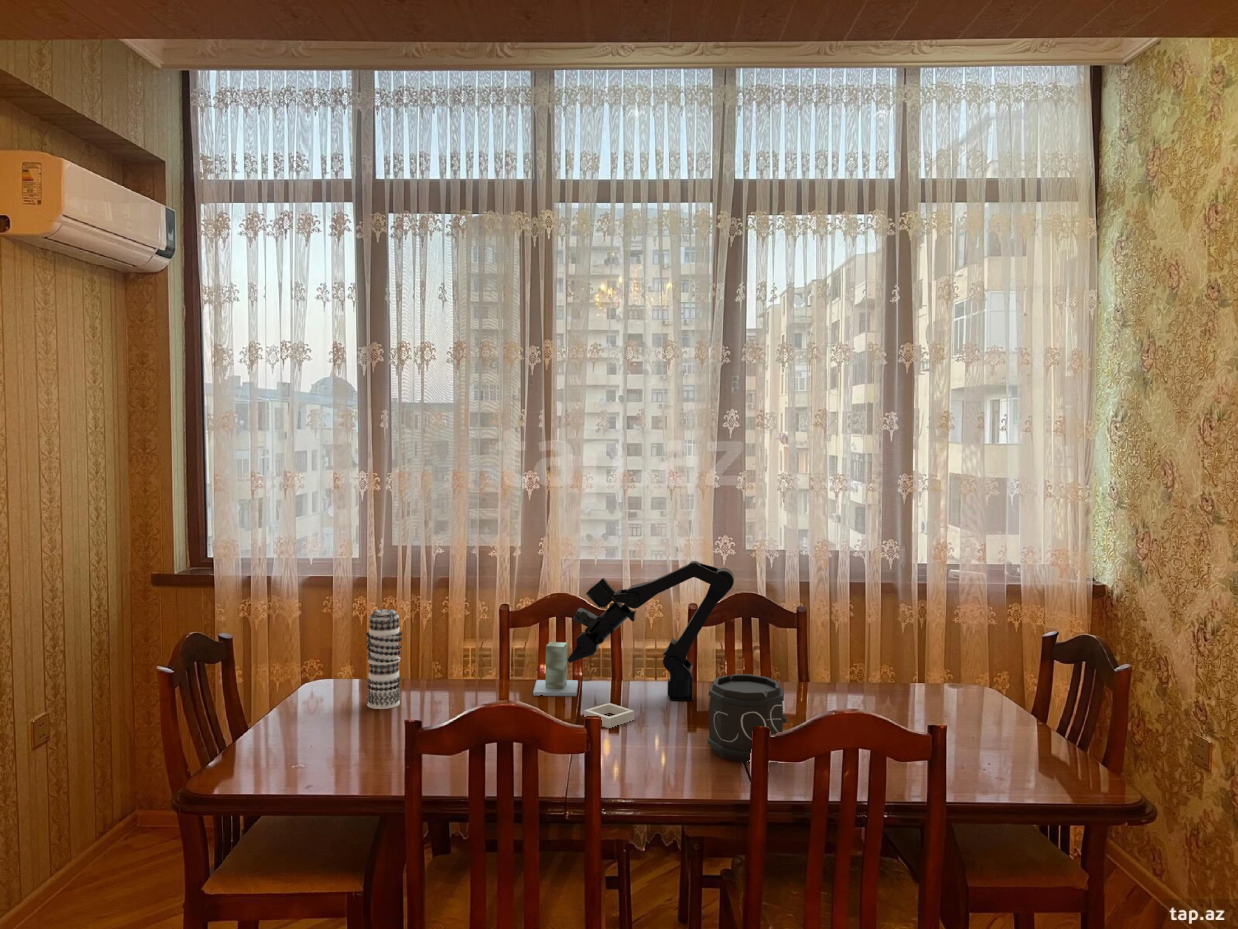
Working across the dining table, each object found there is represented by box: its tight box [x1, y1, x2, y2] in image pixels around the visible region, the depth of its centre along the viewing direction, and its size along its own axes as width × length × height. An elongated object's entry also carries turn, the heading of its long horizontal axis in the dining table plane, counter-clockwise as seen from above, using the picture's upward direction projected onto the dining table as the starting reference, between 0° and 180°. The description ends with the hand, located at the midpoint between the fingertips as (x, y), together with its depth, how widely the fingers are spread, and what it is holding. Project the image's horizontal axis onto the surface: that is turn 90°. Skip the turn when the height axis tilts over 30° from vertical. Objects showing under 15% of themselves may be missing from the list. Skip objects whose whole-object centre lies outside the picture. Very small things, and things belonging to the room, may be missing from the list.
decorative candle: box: [365, 608, 403, 710], centre depth 231 cm, size 9×9×25 cm
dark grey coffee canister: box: [707, 673, 788, 763], centre depth 201 cm, size 18×18×16 cm
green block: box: [545, 641, 568, 689], centre depth 247 cm, size 5×5×12 cm
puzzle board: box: [583, 702, 635, 729], centre depth 221 cm, size 9×9×2 cm
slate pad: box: [532, 679, 579, 697], centre depth 247 cm, size 12×12×1 cm
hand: (571, 657), depth 246 cm, fingers open, 9 cm apart
